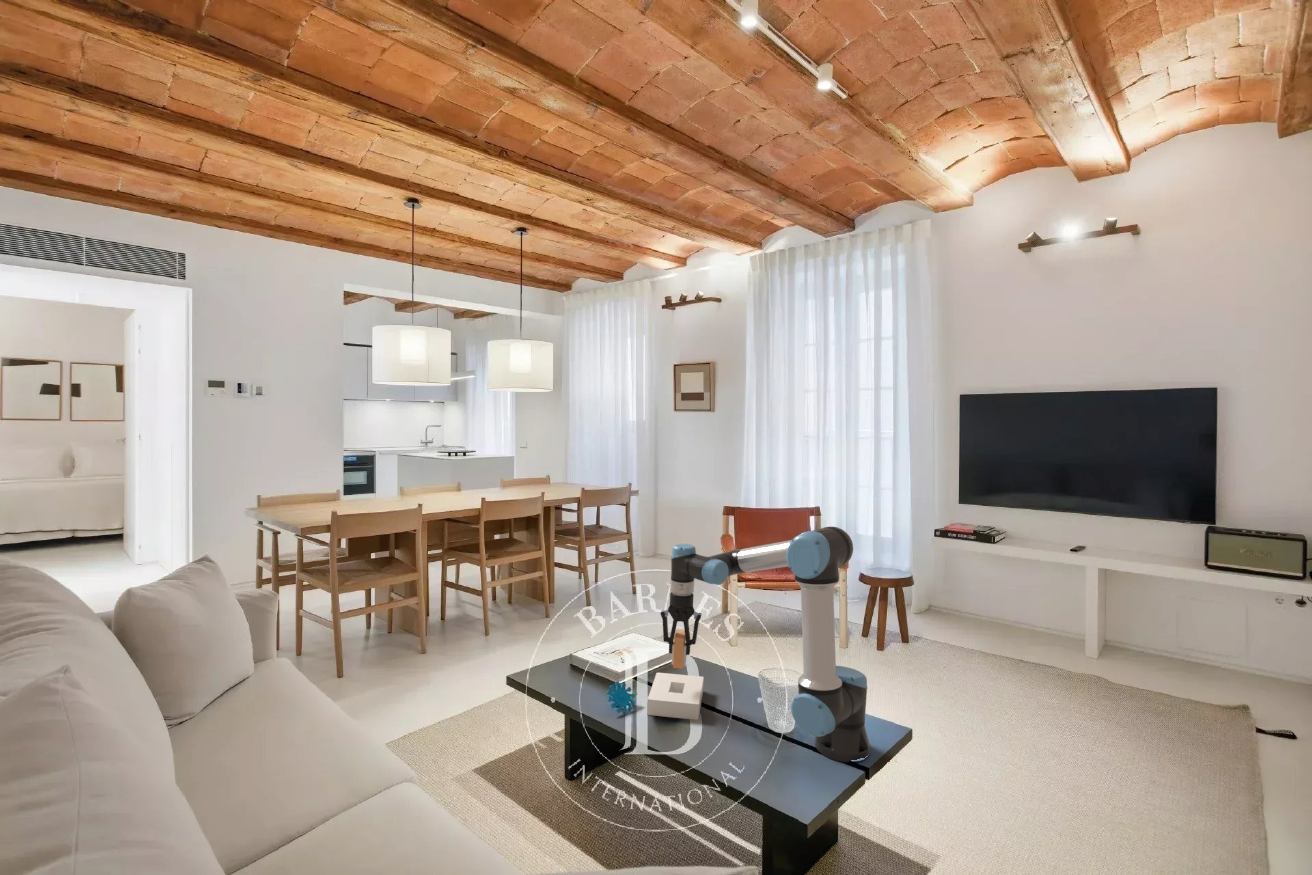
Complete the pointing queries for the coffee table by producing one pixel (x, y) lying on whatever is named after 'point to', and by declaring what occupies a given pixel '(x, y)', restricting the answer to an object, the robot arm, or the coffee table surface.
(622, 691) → the blue virus model
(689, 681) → the block
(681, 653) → the peg
